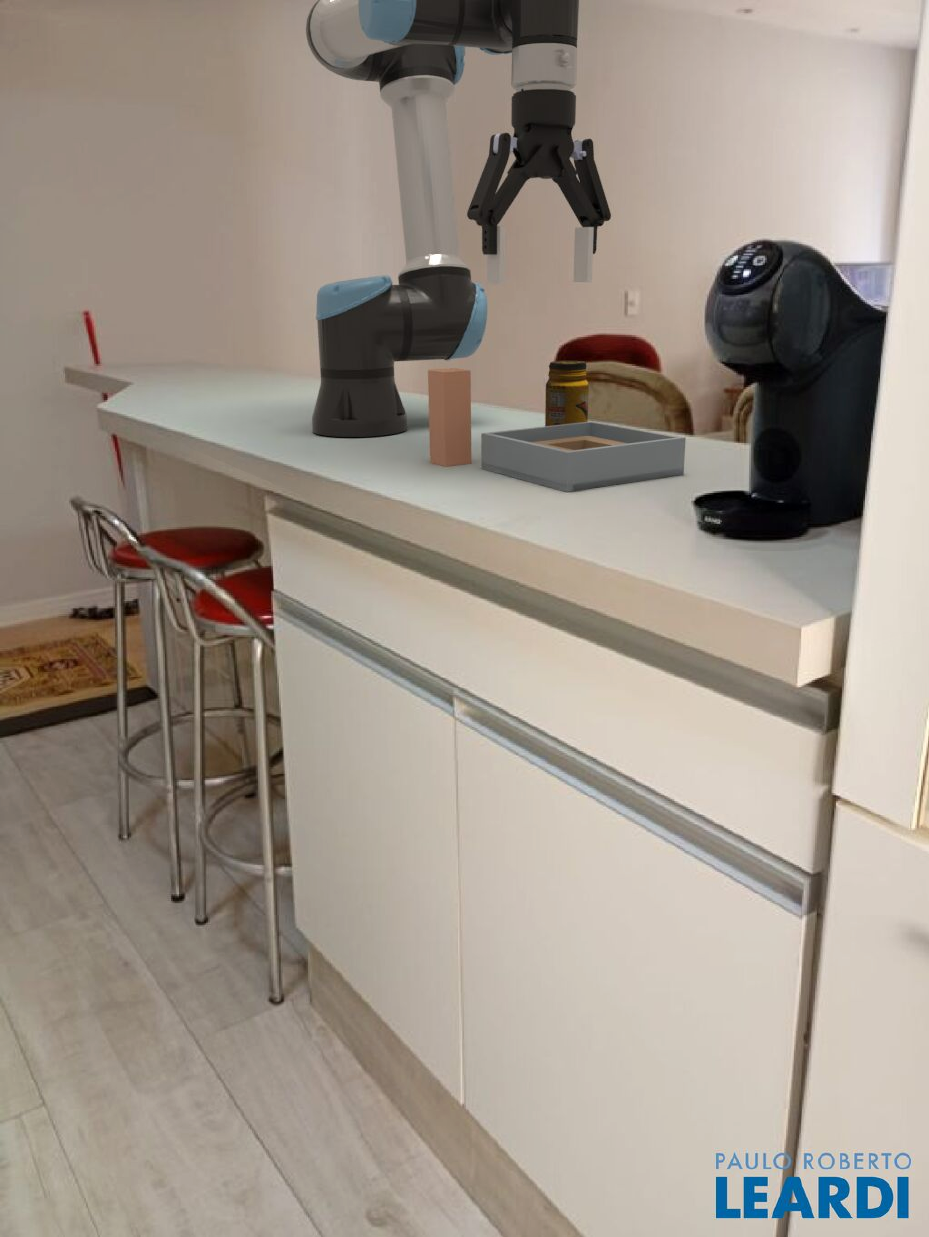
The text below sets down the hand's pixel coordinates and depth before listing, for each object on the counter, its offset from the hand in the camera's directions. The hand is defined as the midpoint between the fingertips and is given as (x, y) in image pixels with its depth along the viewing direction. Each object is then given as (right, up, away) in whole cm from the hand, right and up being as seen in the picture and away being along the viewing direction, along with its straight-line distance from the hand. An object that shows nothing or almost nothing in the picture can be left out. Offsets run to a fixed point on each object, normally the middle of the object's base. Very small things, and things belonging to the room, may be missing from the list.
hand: (540, 283), depth 124 cm
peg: (-11, -21, +9) cm, 25 cm away
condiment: (+4, -17, +20) cm, 27 cm away
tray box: (+5, -23, +2) cm, 24 cm away
